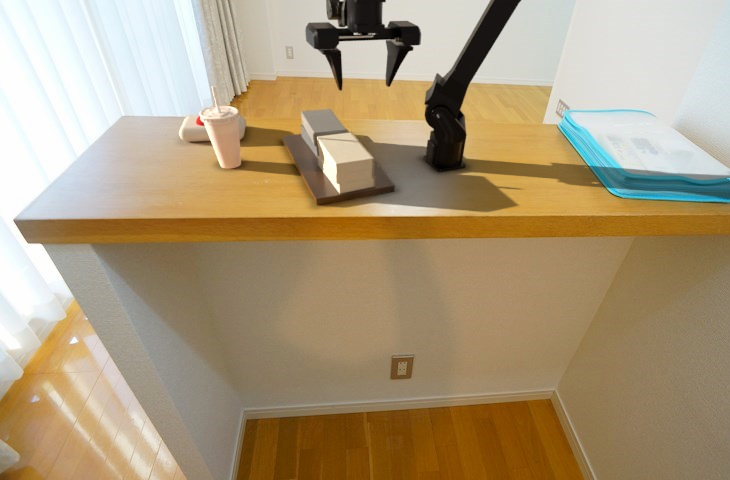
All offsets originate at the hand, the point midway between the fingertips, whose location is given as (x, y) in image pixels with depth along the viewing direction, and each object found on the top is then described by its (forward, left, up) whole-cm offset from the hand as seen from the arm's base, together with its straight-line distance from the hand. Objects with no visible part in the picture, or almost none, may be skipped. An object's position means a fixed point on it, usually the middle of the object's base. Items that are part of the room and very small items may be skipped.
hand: (364, 87), depth 75 cm
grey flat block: (+7, -4, -9) cm, 12 cm away
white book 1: (+7, +9, -8) cm, 14 cm away
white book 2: (+7, +9, -10) cm, 15 cm away
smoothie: (+25, -4, -13) cm, 29 cm away
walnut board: (+7, +2, -13) cm, 15 cm away
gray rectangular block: (+7, -4, -12) cm, 14 cm away
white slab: (+26, -19, -13) cm, 35 cm away
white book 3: (+7, +9, -12) cm, 16 cm away
